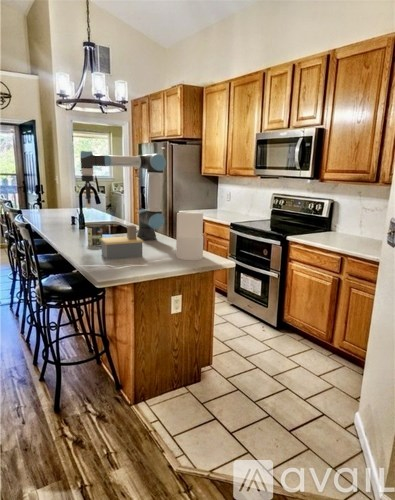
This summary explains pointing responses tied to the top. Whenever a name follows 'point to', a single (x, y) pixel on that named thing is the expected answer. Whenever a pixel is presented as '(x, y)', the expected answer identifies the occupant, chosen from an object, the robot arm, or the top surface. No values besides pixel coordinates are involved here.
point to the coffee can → (94, 235)
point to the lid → (123, 240)
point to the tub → (121, 250)
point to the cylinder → (189, 235)
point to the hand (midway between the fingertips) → (88, 207)
